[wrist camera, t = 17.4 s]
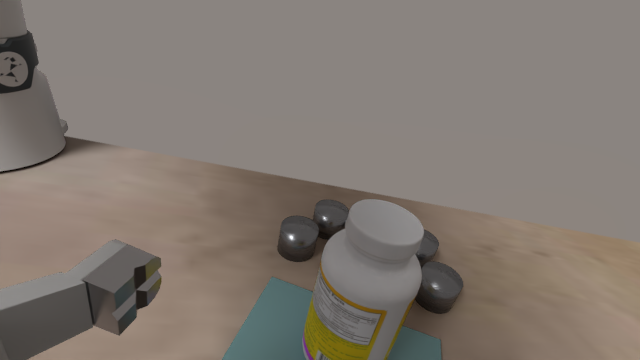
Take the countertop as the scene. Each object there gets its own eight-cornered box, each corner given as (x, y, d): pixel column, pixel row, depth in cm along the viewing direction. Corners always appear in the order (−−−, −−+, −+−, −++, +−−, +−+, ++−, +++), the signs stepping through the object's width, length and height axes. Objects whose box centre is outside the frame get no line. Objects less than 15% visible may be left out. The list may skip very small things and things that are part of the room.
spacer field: (271, 253, 35) (275, 231, 34) (306, 202, 45) (309, 183, 44) (452, 319, 32) (465, 297, 31) (446, 248, 42) (455, 229, 41)
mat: (221, 365, 24) (221, 360, 24) (271, 281, 32) (272, 276, 32) (441, 460, 22) (444, 456, 21) (437, 344, 30) (440, 339, 29)
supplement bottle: (358, 308, 31) (402, 188, 24) (398, 378, 25) (466, 249, 19) (289, 322, 28) (318, 192, 22) (317, 405, 23) (366, 264, 17)
